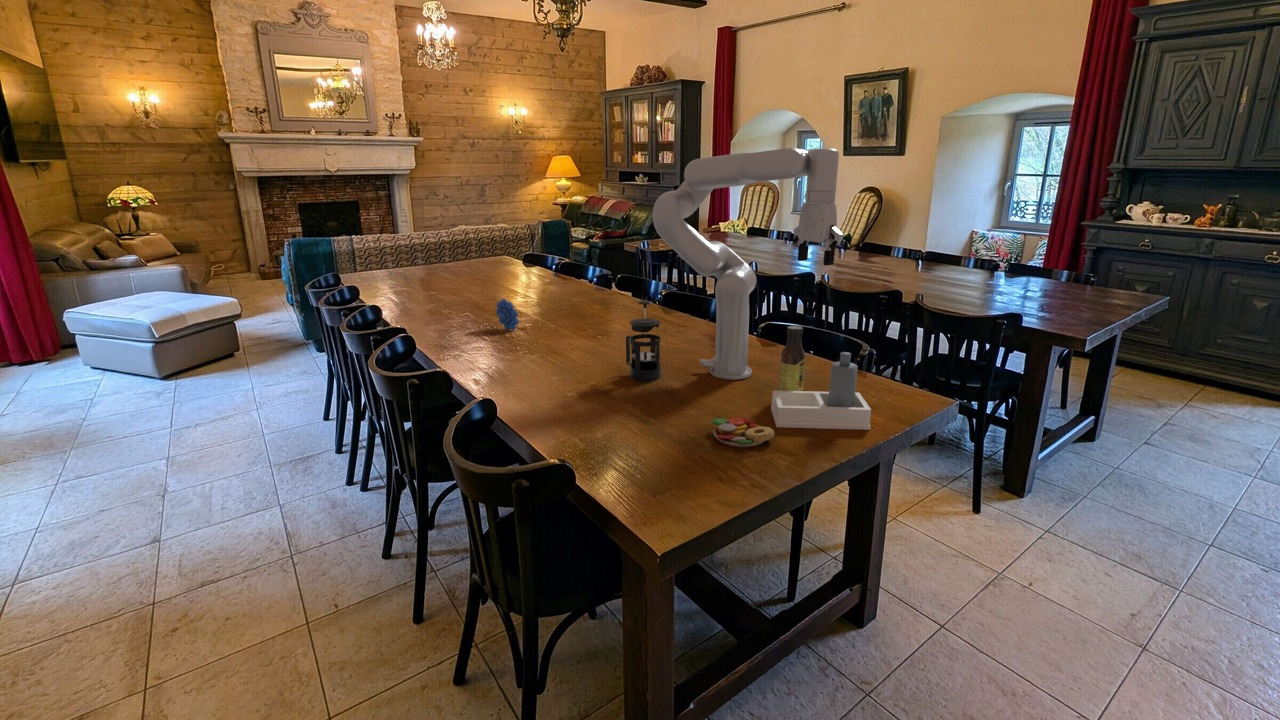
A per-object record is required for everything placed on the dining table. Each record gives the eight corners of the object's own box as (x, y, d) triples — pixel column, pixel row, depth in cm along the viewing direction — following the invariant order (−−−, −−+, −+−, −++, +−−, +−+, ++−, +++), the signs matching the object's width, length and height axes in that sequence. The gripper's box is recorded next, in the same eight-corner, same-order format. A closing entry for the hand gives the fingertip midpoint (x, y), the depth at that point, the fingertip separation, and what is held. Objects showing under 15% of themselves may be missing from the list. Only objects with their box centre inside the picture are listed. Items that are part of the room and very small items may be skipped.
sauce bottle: (803, 404, 160) (808, 331, 154) (778, 402, 161) (783, 330, 155) (801, 395, 166) (807, 324, 160) (778, 393, 167) (782, 324, 161)
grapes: (489, 329, 236) (487, 299, 232) (503, 326, 241) (500, 296, 237) (510, 334, 229) (507, 303, 226) (523, 330, 234) (521, 299, 231)
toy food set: (779, 446, 137) (780, 433, 136) (725, 454, 134) (726, 440, 133) (752, 423, 149) (753, 411, 148) (702, 430, 146) (703, 417, 145)
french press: (668, 374, 183) (669, 300, 176) (652, 384, 176) (652, 306, 169) (636, 368, 189) (635, 296, 182) (619, 377, 182) (617, 302, 175)
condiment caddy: (776, 427, 146) (780, 360, 141) (770, 408, 158) (774, 345, 152) (870, 429, 144) (878, 361, 139) (857, 410, 156) (864, 346, 150)
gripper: (786, 197, 166) (782, 259, 171) (834, 199, 151) (828, 268, 157) (807, 196, 169) (802, 257, 174) (856, 198, 155) (849, 265, 160)
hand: (815, 262), depth 165 cm, fingers open, 9 cm apart
